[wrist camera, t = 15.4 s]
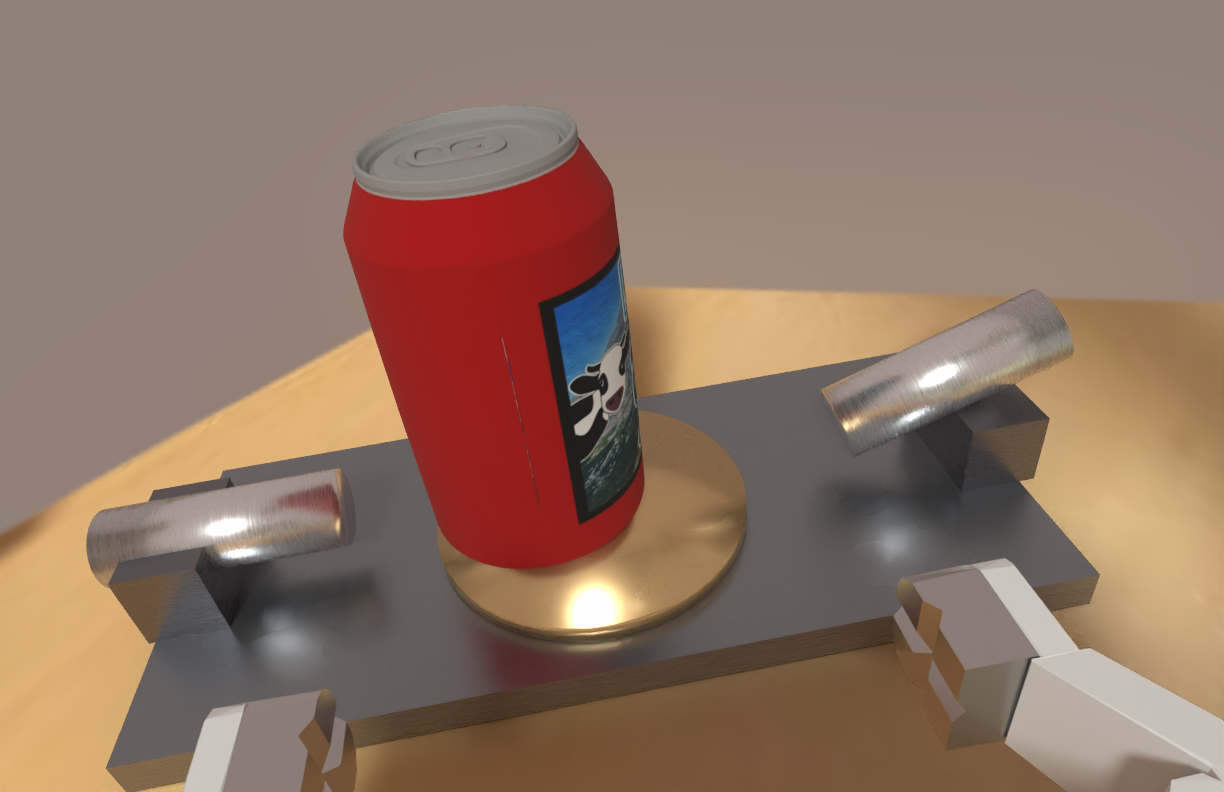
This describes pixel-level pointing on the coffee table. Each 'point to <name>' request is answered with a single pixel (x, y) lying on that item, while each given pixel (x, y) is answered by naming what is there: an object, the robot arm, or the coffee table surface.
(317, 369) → the coffee table surface
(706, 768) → the coffee table surface
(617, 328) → the beverage can
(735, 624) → the shaft bed
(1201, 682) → the coffee table surface
